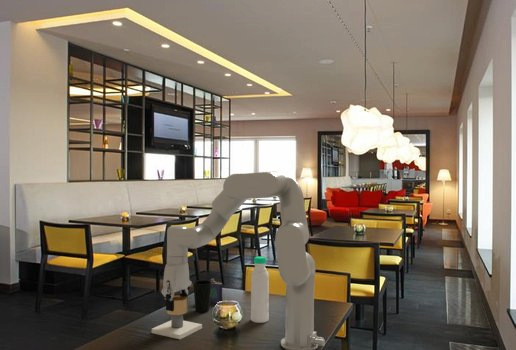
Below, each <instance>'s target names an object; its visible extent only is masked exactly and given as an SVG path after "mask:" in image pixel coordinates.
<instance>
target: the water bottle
mask: <svg viewBox="0 0 516 350" xmlns="http://www.w3.org/2000/svg"><path fill="white" fill-rule="evenodd" d="M266 263H267V258H266V256H254V258H253V264H254V267H253V270H252V272H251V275H250V278H251V280H250V281H251V282H250V284H251V285H250V298H251V302H250V310H251V311H250V320H251V321H252V322H253V323H256V324H257V323H258V324H264V323H267V322H268V321H269V317H270V315H269V314H270V313H269V310H270V309H269V308H270V306H269V305H270V304H269V297H270V293H269V292H270V283H269V279H270V278H269V277H270V275H269V274H270V273H269V272H268V271H267V268H266Z"/></svg>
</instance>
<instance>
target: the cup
mask: <svg viewBox="0 0 516 350" xmlns="http://www.w3.org/2000/svg"><path fill="white" fill-rule="evenodd" d="M192 287H193V298H194V309H195V312H196V313H198V314H204V313H205V314H206V313H207V312H209V310H210V304H211V303H210V293H211V280H207V279H206V280H205V279H204V280H201V279H200V280H195V281H193V282H192Z"/></svg>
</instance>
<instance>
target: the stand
mask: <svg viewBox="0 0 516 350" xmlns="http://www.w3.org/2000/svg"><path fill="white" fill-rule="evenodd" d="M170 316H171V319H170V320H168V321H166V322H164V323H162V324H160V325H157V326H155V327H153V328H151V334H156V335H159V336H164V337H168V338H172V339H177V340H182V339H184V338H186V337H189V336H191V335H192V334H193V333H196V332H197V331H199V330H201V329H203V324H202V323H198V322H197V323H196V322H193V321H188V320H184V314H181V315H170Z"/></svg>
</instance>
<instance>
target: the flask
mask: <svg viewBox="0 0 516 350" xmlns="http://www.w3.org/2000/svg"><path fill="white" fill-rule="evenodd" d="M210 281H211V293H210V304H214V305H215V304H216V303H217V302H219V301H222V302H223V283H222V282H220V281H216V280H215V278H211V279H210ZM216 305H217V304H216Z"/></svg>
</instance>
